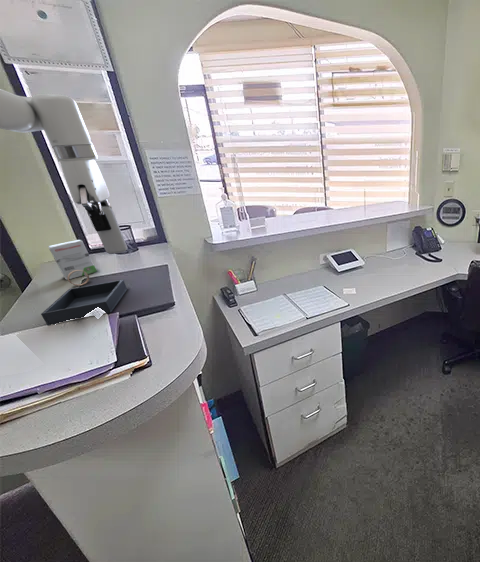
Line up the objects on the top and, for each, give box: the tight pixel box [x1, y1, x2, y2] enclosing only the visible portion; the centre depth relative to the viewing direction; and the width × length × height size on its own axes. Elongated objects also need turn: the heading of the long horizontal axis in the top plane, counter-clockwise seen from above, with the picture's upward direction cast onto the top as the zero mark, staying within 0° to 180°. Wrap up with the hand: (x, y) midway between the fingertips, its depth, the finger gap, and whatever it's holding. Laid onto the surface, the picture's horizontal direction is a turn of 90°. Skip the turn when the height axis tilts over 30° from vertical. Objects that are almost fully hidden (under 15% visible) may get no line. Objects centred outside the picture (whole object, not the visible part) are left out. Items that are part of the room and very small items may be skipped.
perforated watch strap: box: [67, 270, 90, 287], centre depth 100 cm, size 3×5×5 cm, turn 147°
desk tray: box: [40, 279, 128, 326], centre depth 86 cm, size 13×16×3 cm
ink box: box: [47, 239, 98, 281], centre depth 107 cm, size 9×5×12 cm, turn 141°
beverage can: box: [96, 206, 128, 255], centre depth 82 cm, size 5×5×12 cm
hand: (107, 227), depth 82 cm, fingers closed on beverage can, 4 cm apart
